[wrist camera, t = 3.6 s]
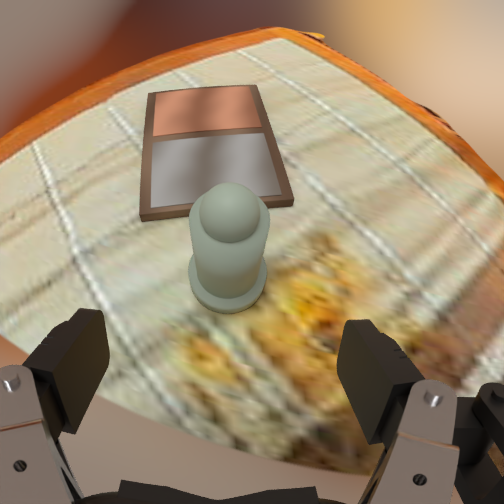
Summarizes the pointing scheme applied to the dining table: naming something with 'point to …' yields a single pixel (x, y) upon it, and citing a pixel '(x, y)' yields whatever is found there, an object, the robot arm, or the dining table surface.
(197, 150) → the brown flat rectangular board
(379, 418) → the robot arm
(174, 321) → the dining table surface
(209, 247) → the pawn
